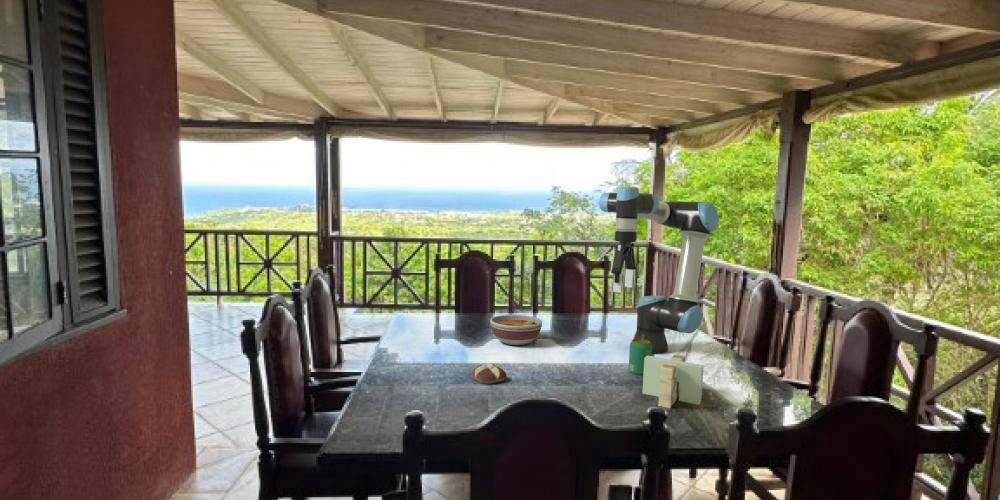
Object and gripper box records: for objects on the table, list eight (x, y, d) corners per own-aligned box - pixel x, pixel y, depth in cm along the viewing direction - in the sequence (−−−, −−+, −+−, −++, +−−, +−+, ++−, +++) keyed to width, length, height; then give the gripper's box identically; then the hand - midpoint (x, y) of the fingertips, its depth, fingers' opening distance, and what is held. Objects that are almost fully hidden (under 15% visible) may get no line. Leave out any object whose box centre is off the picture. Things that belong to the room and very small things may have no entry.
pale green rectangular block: (642, 393, 181) (644, 358, 180) (645, 390, 184) (647, 355, 183) (699, 404, 172) (701, 367, 171) (701, 401, 176) (703, 365, 174)
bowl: (550, 341, 244) (551, 319, 244) (525, 352, 225) (525, 328, 224) (507, 333, 257) (507, 312, 256) (479, 343, 237) (479, 320, 237)
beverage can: (635, 368, 209) (637, 337, 207) (654, 373, 203) (656, 341, 202) (624, 372, 203) (625, 340, 202) (643, 377, 197) (645, 345, 196)
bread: (468, 376, 194) (468, 362, 194) (498, 373, 198) (498, 359, 198) (479, 386, 184) (479, 372, 183) (510, 383, 188) (510, 369, 188)
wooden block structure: (673, 387, 188) (675, 353, 187) (683, 389, 186) (685, 355, 185) (658, 405, 171) (660, 368, 169) (669, 408, 169) (672, 370, 168)
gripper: (626, 228, 207) (623, 284, 209) (604, 231, 186) (601, 293, 188) (645, 229, 203) (642, 286, 205) (625, 232, 182) (622, 295, 184)
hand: (623, 289), depth 197 cm, fingers open, 13 cm apart
